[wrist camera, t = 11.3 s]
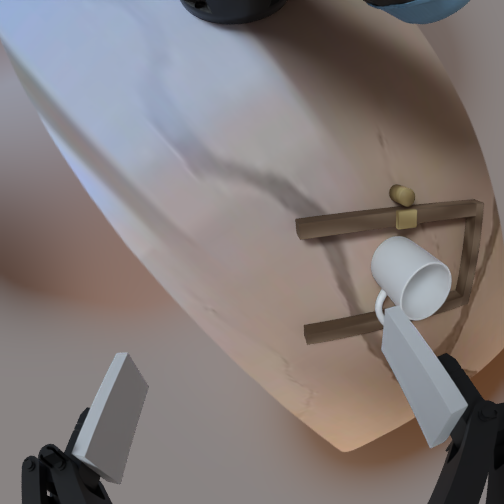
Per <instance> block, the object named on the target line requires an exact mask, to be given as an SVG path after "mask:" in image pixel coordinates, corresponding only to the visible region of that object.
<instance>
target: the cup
mask: <svg viewBox="0 0 504 504" xmlns="http://www.w3.org/2000/svg"><path fill="white" fill-rule="evenodd" d="M371 271H372V275H373V277H374V279H375V280H376V282H377V283H378V284H379V286H380V287H381V288H382V289H381V291H380V293H379V295H378V297H377V300H376V303H375V312H376V316H377V318H378V320H379V321H380V323H381V324H382V325H383V326H384V314H383V311H382V305H383V302H384V300H385V298H386V297H387V295H388V296H389V298H390V299H391V300H392V301H393V303H394V304H395V305H396V306H398V305H399V307H400V308H401V309H402V311H403V312H404V313H405V314H406V316H407V317H408V318H409V319H410V320H422V319H425V318H427V317H429V316H431V315H432V314H434V313H435V312H436V311H437V310H438V309H439V308H440V307H441V306H442V305H443V303H444V302H445V300H446V298H447V296H448V294H449V292H450V288H451V281H452V279H451V273H450V270H449V268H448V267H447V266H446V265H445V264H444V263H442V262H441V261H440V260H438V259H437V258H436V257H434V256H433V255H431V254H430V253H429V252H427V251H426V250H424V249H423V248H422V247H420V246H419V245H417V244H416V243H415V242H413V241H412V240H410V239H408V238H406V237H403V236H394V237H391V238H389V239H387V240H385V241H384V242H382V243H381V244H380V245H379V247H378V248H377V249H376V251H375V253H374V255H373V258H372V262H371Z"/></svg>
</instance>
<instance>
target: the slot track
mask: <svg viewBox="0 0 504 504" xmlns="http://www.w3.org/2000/svg"><path fill="white" fill-rule="evenodd" d="M389 194H390V198H391V199H392V200H393V201H395V202H397V203H400V204H402V205H404V206H399V207H390V208H380V209H372V210H363V211H354V212H346V213H338V214H330V215H322V216H314V217H306V218H299V219H295V221H296V231H297V235H298V237H299V238H300V240H302V239H309V238H316V237H323V236H330V235H338V234H345V233H352V232H359V231H366V230H374V229H381V228H388V227H396V228H397V229H398V230H400V229H407V228H414V227H416V226H417V224H418V223H425V222H433V221H440V220H448V219H455V218H463V217H466V226H465V236H464V244H463V252H462V259H461V265H460V271H459V277H458V282H457V287H456V290H455V291H452V292H449V294H448V296H447V298H446V300H445V302H444V303H443V305H442V306H441V307H440V308H439V309H438V310H437V311H436V312H435V313H434V314H432V315H435V314H438V313H441V312H445V311H448V310H451V309H454V308H457V307H460V306H463V305H465V304H468V301H469V297H470V293H471V289H472V284H473V279H474V275H475V269H476V264H477V258H478V252H479V245H480V238H481V230H482V220H483V208H484V203H482V202H480V201H477V200H475V199H474V200H462V201H450V202H439V203H429V204H418V205H412V204H413V203H414V200H415V194H414V192H413V190H411V189H409V188H406V187H403V186H400V185H393V186H392V187H391V189H390V192H389ZM382 311H383V314H384V316H385V309H383V310H382ZM432 315H431V316H432ZM409 320H410V319H409ZM410 321H415V320H410ZM383 328H384V326H383V325H382V324H381V323H380V321H379V320H378V318H377V316H376V312H370V313H365V314H361V315H356V316H351V317H346V318H341V319H336V320H330V321H325V322H319V323H314V324H308V325H304V336H305V339H306V343H307V345H309V344H315V343H320V342H325V341H331V340H336V339H341V338H346V337H350V336H355V335H359V334H364V333H368V332H373V331H377V330H381V329H383Z"/></svg>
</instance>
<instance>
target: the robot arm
mask: <svg viewBox="0 0 504 504" xmlns="http://www.w3.org/2000/svg"><path fill="white" fill-rule="evenodd" d="M180 1H181V3H182V4H183V6H184V7H185V8H186V9H187V10H188V11H189V12H190V13H192V14H193V15H195V16H197V17H199V18H201V19H203V20H206V21H210V22H214V23H220V24H242V23H248V22H253V21H257V20H260V19H263V18H265V17H267V16H269V15H271V14H273V13H275V12H276V11H277V10H279V9H280V8H281V7H282V6H283V5H284V4H285V3H286V1H287V0H180ZM363 1H365V2H366V3H367V4H368V5H370V6H372V7H374V8H377V9H381V10H383V11H385V12H387V13H389V14H391V15H393V16H394V17H396V18H398V19H400V20H402V21H404V22H407V23H412V24H428V23H433V22H436V21H439V20H442V19H444V18H446V17H448V16H450V15H452V14H454V13H455V12H457V11H458V10H460V9H461V8H462V7H464V6H465V5H466V4H467V3H468V2H469V1H470V0H363ZM381 350H382V352H383V354H384V356H385V357H386V359H387V361H388V363H389V365H390V367H391V369H392V371H393V372H394V374H395V376H396V378H397V380H398V382H399V384H400V386H401V388H402V390H403V392H404V394H405V396H406V398H407V400H408V402H409V404H410V406H411V408H412V410H413V412H414V414H415V416H416V418H417V420H418V423H419V425H420V427H421V429H422V431H423V434H424V436H425V438H426V440H427V442H428V445H429V447H430V448H432V447H434V446H436V445H439V444H441V443H443V442H445V441H446V440H447V438H448V436H449V435H451V437H452V442H451V443H450V444H449V446H448V447H447V449H446V451H448V450H449V451H448V454H447V457H446V460H445V463H444V466H443V469H442V471H441V474H440V476H439V479H438V482H437V484H436V486H435V489H434V491H433V493H432V495H431V498H430V500H429V502H428V504H479V501H480V498H481V495H482V492H483V489H484V486H485V483H486V479H487V476H488V488H487V498H486V504H504V403H500V404H495V403H494V402H491V401H485V400H484V399H483V398H482V397H481V395H480V393H479V392H478V390H477V389H476V387H475V386H474V385H473V383H472V382H471V381H470V379H469V377H468V376H467V375H466V373H465V372H464V370H463V369H461V366H460V365H459V363H458V362H457V361H456V359H455V358H453V357H452V356H450V355H449V354H447V353H445V354H443V355H441V356H438V357H436V355H435V354H434V352H433V351H432V350H431V348H430V347H429V345H428V344H427V343H426V341H425V340H424V338H423V337H422V336H421V334H420V333H419V332H418V330H417V329H416V328H415V326H414V325H413V324H412V322H411V321H410V320H409V318H408V317H407V316H406V314H405V313H404V312H403V311H402V309H401V308H400V307H399V305H398V306H394V307H391V308H387V309H385V316H384V328H383V339H382V348H381ZM148 388H149V386H148V385H147V383H146V381H145V380H144V378H143V376H142V375H141V373H140V372H139V370H138V368H137V367H136V365H135V363H134V362H133V360H132V358H131V357H130V355H129V353H117V354H116V355H115V357H114V359H113V362H112V363H111V366H110V367H109V370H108V372H107V374H106V376H105V378H104V380H103V382H102V384H101V386H100V388H99V390H98V393H97V395H96V397H95V399H94V402H93V404H92V406H91V408H86V409H85V410H84V411H83V413H82V414H81V415H80V417H79V419H78V422H77V424H76V426H75V430H74V431H73V433H72V435H71V438H70V440H69V442H68V445H67V447H66V450H65V452H64V453H63V452H62V451H61V450H60V449H59V448H58V447H56V446H55V445H54V444H48V445H45V446H44V447H42V449H41V450H40V452H39V455H38V458H36V457H35V456H29V457H27V458H26V459H25V460H24V462H23V465H22V504H112V502H111V500H110V498H109V497H108V494H107V492H106V490H105V488H104V486H103V485H102V483H101V482H100V481H99V480H100V476H101V477H102V478H103V479H105V480H106V481H108V482H112V483H116V484H121V481H122V477H123V473H124V469H125V465H126V462H127V458H128V455H129V451H130V447H131V444H132V440H133V437H134V433H135V430H136V427H137V423H138V420H139V417H140V413H141V410H142V407H143V404H144V401H145V397H146V394H147V391H148ZM488 472H489V474H488ZM47 490H48V491H49V492H50V496H47Z"/></svg>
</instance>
